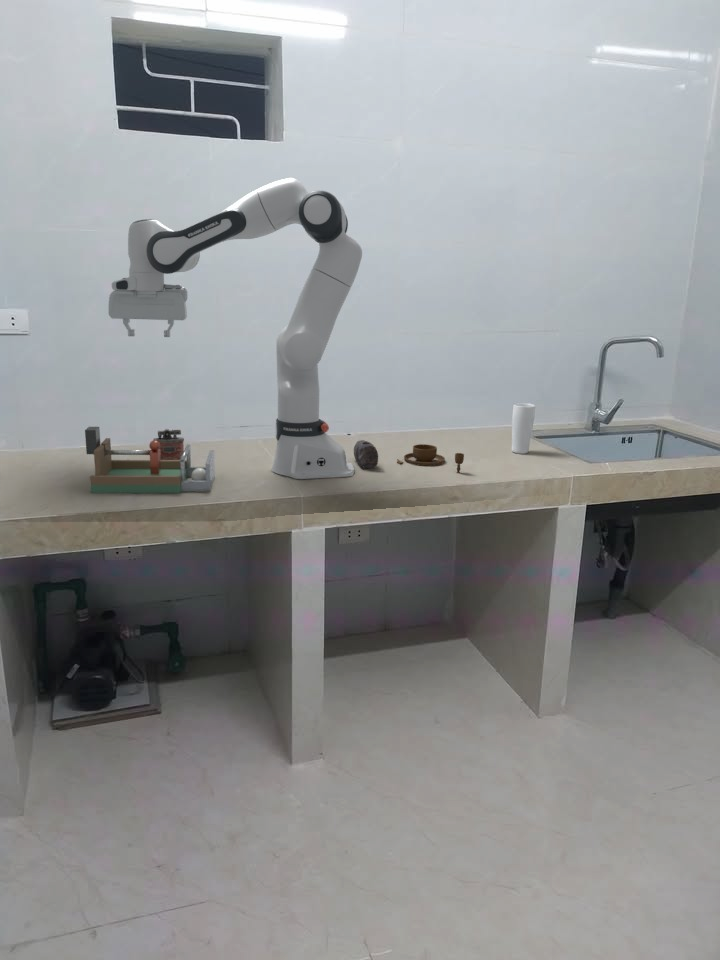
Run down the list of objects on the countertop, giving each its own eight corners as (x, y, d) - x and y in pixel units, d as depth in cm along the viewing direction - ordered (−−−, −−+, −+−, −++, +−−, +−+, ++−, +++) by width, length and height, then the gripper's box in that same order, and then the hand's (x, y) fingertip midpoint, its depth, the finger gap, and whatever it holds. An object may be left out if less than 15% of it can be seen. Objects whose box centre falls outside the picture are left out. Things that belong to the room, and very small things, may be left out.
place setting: (449, 457, 225) (450, 438, 224) (466, 476, 206) (467, 455, 204) (392, 457, 223) (392, 438, 221) (404, 476, 204) (405, 455, 202)
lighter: (154, 467, 202) (153, 431, 199) (154, 464, 205) (152, 428, 202) (185, 466, 204) (183, 430, 201) (184, 463, 207) (183, 427, 204)
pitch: (187, 474, 196) (186, 437, 193) (180, 492, 180) (179, 452, 178) (105, 474, 193) (103, 437, 190) (91, 492, 178) (88, 452, 175)
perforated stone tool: (349, 458, 219) (349, 434, 217) (366, 457, 220) (367, 434, 218) (360, 471, 205) (361, 447, 203) (379, 470, 206) (380, 446, 204)
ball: (209, 467, 190) (193, 464, 189) (208, 472, 186) (192, 469, 185) (206, 482, 191) (191, 479, 190) (205, 487, 187) (189, 484, 186)
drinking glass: (532, 455, 229) (537, 407, 225) (510, 454, 230) (515, 406, 225) (528, 450, 236) (533, 403, 232) (507, 449, 236) (511, 402, 232)
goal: (214, 476, 195) (213, 444, 193) (210, 491, 182) (209, 457, 180) (187, 475, 195) (186, 444, 192) (181, 491, 181) (179, 457, 179)
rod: (162, 469, 188) (160, 427, 185) (160, 474, 185) (158, 430, 182) (91, 469, 186) (88, 426, 183) (88, 473, 183) (84, 430, 180)
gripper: (188, 284, 202) (189, 336, 205) (110, 282, 199) (113, 334, 203) (185, 285, 195) (187, 338, 199) (105, 282, 193) (108, 336, 197)
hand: (149, 336), depth 201 cm, fingers open, 8 cm apart
